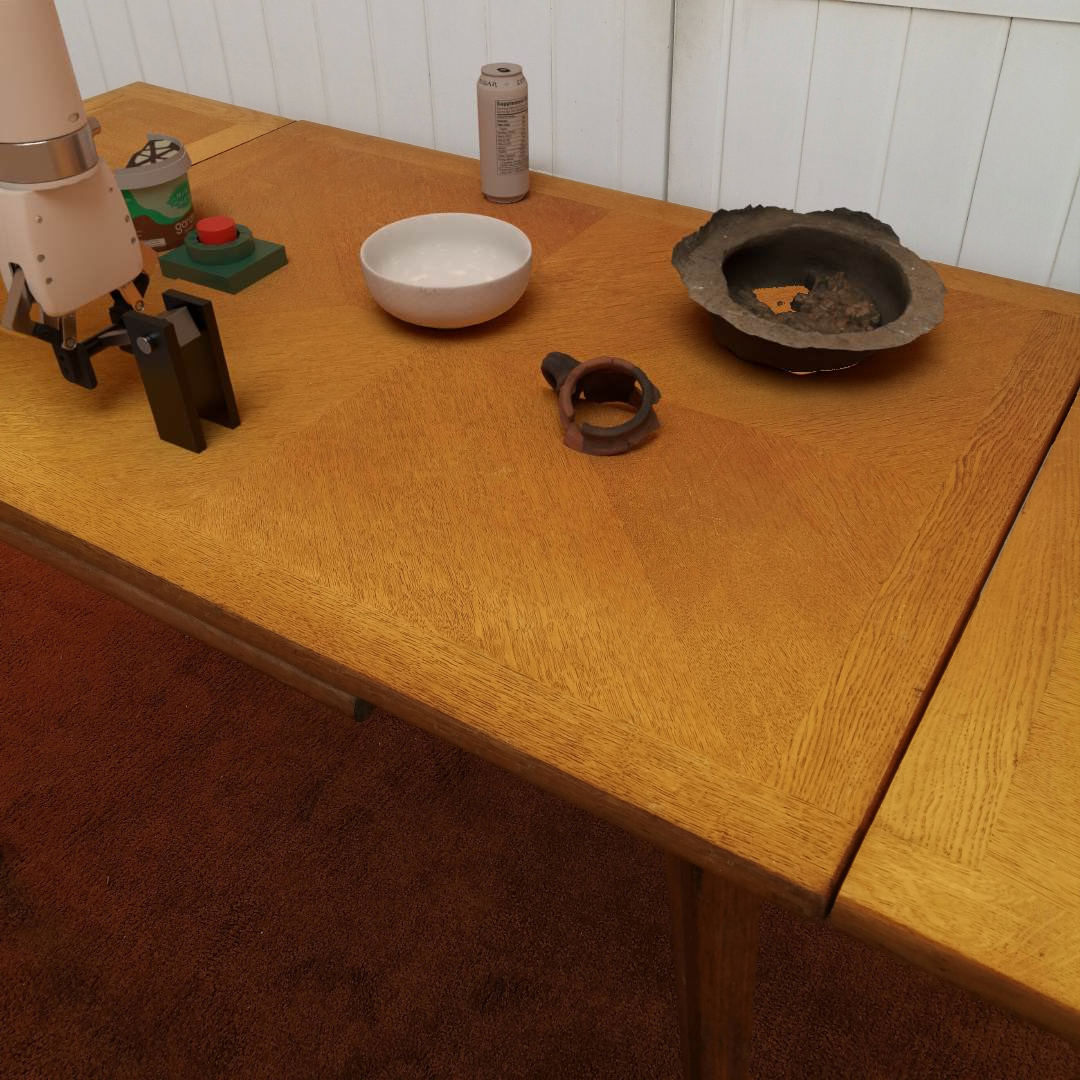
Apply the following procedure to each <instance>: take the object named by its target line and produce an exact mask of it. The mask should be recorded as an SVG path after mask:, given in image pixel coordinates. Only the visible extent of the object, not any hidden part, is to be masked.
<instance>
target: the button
mask: <svg viewBox="0 0 1080 1080" xmlns="http://www.w3.org/2000/svg"><path fill="white" fill-rule="evenodd" d="M235 223H236V221H235V220H234V218H232V217H230V216H226V215H215V216H214V215H213V216H209V217H205V218H202V219H201V220H199V221H197V222H196V229H197V232H198V236H199V240H200V243H202V244H206V245H220V244H224V243H229V242H232V241H234V240H236V239H237V238H238V235H237V230H236V226H235Z"/></svg>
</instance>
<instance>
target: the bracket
mask: <svg viewBox="0 0 1080 1080" xmlns="http://www.w3.org/2000/svg"><path fill="white" fill-rule="evenodd" d="M161 297H162V301H163V305H164V308H165V310H171V309H176V308H181V307H187V309H188V311H189V313H190V315H191V316H192V318H193V320H194V322H195V324H196V326H197V328H198V330H199V332H200V334H201V335H200V336H199V337H197V338H195V339H194V340H192V341H190V342H189V343H187V344H185V345H184V346H182V347H180V346H179V343H178V339H177V335H176V332H175V328H174V324H173V323H172V322H169V321H166V320H162V319H159V318H156V317H154V316H153V315H150V314H146V313H144V312H137V311H134V310H130V311H128V312H126V313H124V314H123V315H122V316H123V320H124V323H125V326H126V329H127V333H128V336H129V339H130V342H131V346H132V349H133V352H134V355H133V356H134V359H135V363H136V366H137V368H138V369H137V370H138V372H139V375H140V378H141V381H142V385H143V388H144V391H145V394H146V399H147V401H148V404H149V408H150V410H151V413H152V417H153V421H154V423H155V427H156V431H157V433H158V437H159V439H160V440H161V441H163V442H165V443H169V444H171V445H174V446H176V447H178V448H179V447H180V448H182V449H184V450H187V451H189V452H192V453H194V454H198V455H200V454H201V453H203V452H204V451H205V450H207V449H208V446H207V442H206V439H205V435H204V432H203V431H204V430H203V428H202V424H201V420H200V419H202V420H205V421H208V422H210V423H213V424H216V425H219V426H222V427H224V428H226V429H230V430H232V431H234V430H235V429H237V428H239V426H241V425H242V422H241V418H240V413H239V409H238V405H237V401H236V398H235V393H234V389H233V385H232V381H231V380H232V379H231V377H230V372H229V368H228V364H227V360H226V355H225V352H224V348H223V343H222V340H221V334H220V331H219V327H218V323H217V322H218V321H217V318H216V315H215V311H214V306H213V305H214V304H213V302H212V300H210V299H206V298H202V297H200V296H197V295H193V294H190V293H187V292H183V291H180V290H177V289H174V288H168V289H166V290H165V291H163V292H162V293H161Z"/></svg>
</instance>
